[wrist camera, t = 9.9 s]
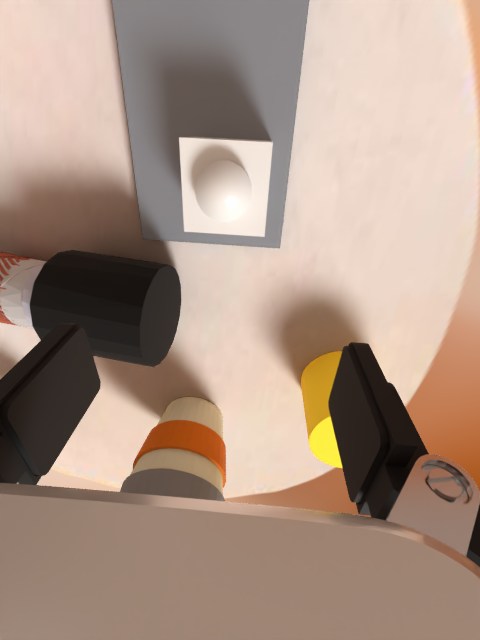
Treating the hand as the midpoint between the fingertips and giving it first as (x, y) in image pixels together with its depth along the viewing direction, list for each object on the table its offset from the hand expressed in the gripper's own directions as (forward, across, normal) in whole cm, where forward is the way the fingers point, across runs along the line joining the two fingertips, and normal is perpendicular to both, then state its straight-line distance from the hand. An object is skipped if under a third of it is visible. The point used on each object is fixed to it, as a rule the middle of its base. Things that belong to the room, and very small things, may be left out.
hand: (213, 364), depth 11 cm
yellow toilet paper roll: (+22, -14, +21) cm, 33 cm away
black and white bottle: (+23, +24, +8) cm, 34 cm away
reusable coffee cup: (+22, +6, +31) cm, 38 cm away
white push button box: (+21, +1, -3) cm, 21 cm away
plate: (+22, +3, -7) cm, 24 cm away
